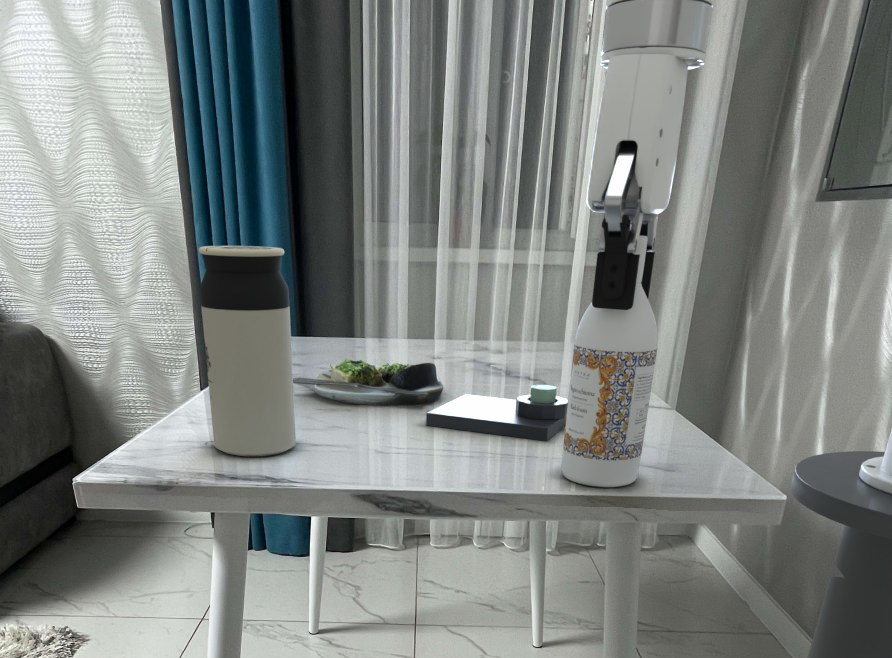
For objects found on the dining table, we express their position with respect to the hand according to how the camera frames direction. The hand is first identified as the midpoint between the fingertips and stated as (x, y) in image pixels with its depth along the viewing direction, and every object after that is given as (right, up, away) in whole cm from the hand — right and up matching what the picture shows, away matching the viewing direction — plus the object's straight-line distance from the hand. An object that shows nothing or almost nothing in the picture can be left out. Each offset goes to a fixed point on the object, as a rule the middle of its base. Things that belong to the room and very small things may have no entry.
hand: (620, 302), depth 67 cm
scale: (-7, -3, +26) cm, 27 cm away
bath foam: (0, -13, +7) cm, 15 cm away
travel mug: (-33, -9, +13) cm, 37 cm away
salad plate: (-22, +3, +38) cm, 44 cm away
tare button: (-3, -2, +23) cm, 23 cm away
